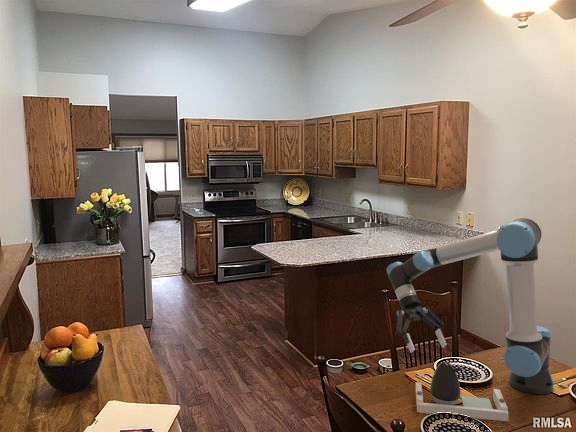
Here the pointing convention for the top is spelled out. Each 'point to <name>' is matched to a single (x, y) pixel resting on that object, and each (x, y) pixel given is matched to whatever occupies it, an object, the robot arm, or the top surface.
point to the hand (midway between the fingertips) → (428, 348)
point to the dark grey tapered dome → (445, 384)
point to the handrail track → (467, 406)
